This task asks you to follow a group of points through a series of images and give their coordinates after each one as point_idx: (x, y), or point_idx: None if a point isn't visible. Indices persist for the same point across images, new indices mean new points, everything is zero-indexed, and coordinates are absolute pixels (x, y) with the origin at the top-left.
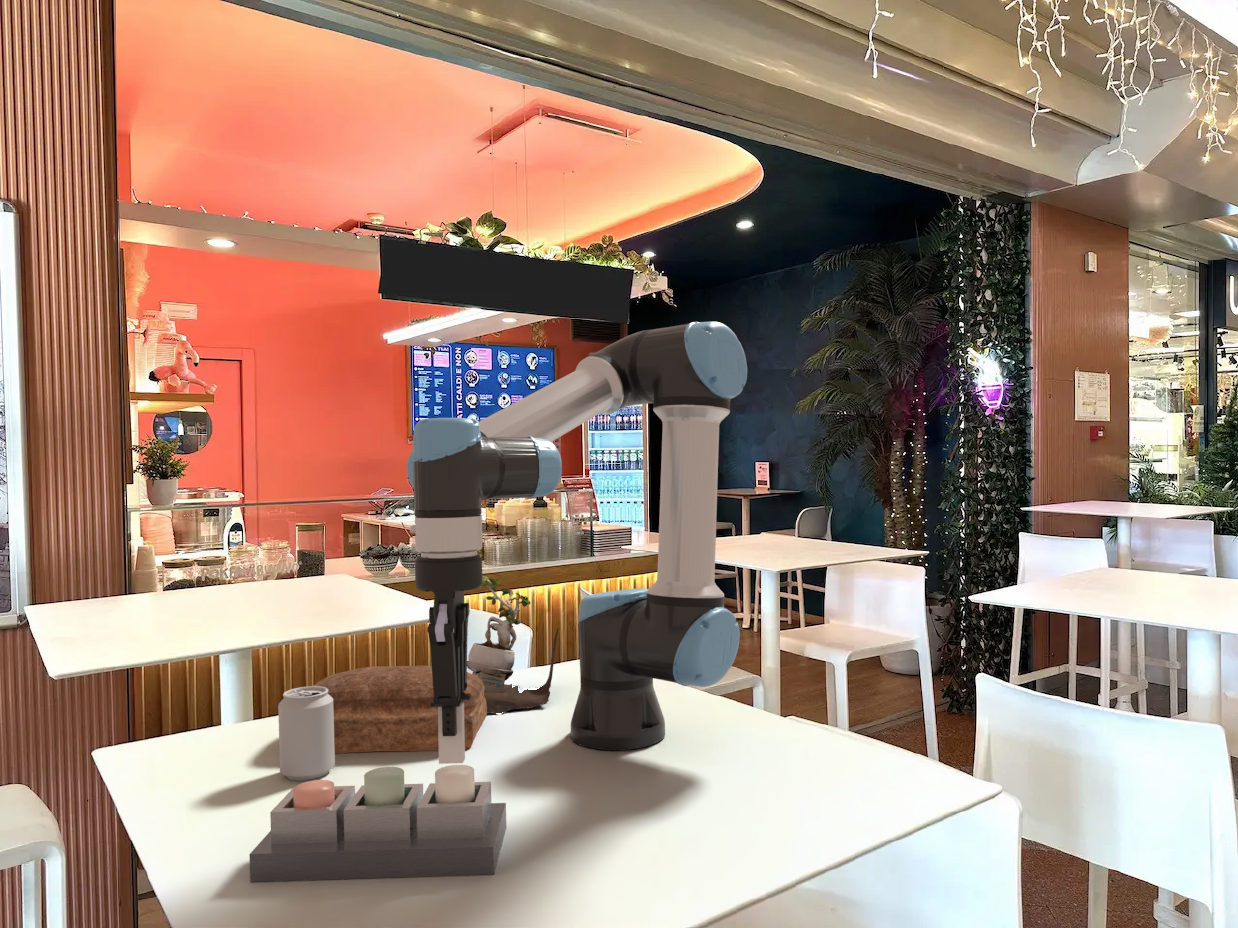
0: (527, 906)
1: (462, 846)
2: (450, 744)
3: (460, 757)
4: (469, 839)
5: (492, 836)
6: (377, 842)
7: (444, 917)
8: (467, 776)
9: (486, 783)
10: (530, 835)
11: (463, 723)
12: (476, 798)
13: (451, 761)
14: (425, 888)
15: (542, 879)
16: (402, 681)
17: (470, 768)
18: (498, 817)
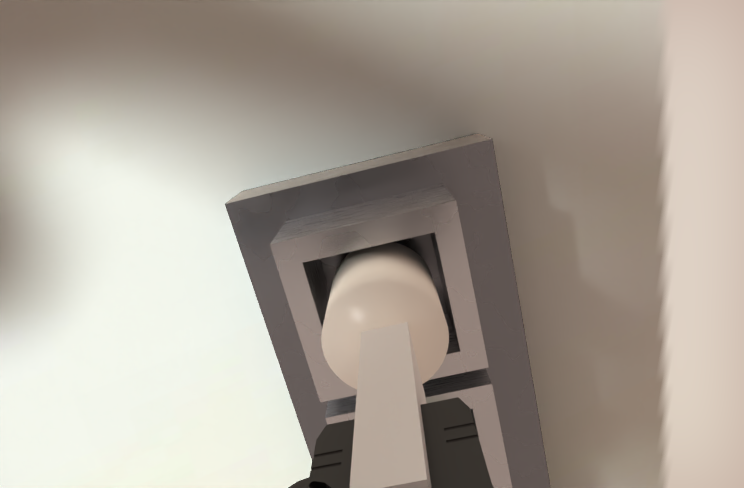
0: (613, 2)
1: (498, 214)
2: (422, 399)
3: (410, 338)
4: (458, 212)
5: (435, 162)
6: (496, 400)
7: (661, 166)
8: (413, 286)
9: (288, 251)
10: (270, 117)
11: (380, 411)
12: (406, 237)
13: (416, 360)
14: (548, 250)
15: (488, 9)
16: None
17: (349, 301)
18: (321, 188)
